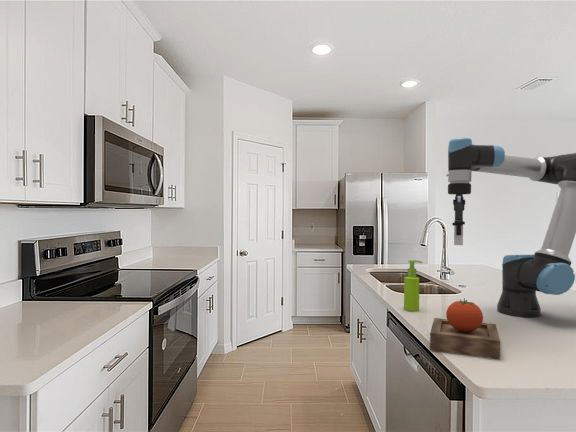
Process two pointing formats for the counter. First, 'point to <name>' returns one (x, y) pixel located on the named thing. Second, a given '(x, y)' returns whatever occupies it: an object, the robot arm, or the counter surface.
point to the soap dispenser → (411, 288)
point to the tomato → (464, 316)
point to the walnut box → (465, 340)
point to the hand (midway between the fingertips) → (458, 243)
